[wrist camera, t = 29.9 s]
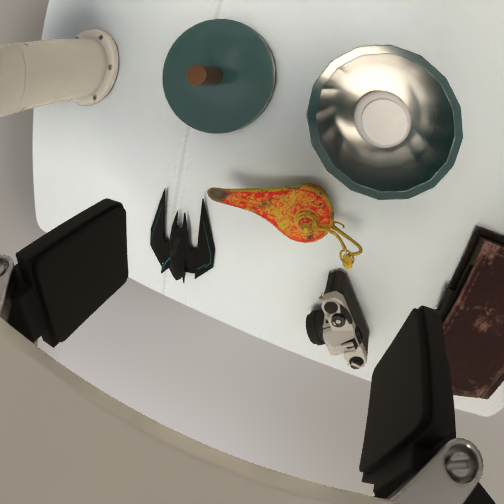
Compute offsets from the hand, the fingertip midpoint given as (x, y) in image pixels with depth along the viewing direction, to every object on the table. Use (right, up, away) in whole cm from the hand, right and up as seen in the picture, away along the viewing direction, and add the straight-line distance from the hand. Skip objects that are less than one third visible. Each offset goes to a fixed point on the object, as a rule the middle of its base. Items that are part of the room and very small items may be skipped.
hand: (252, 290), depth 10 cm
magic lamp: (+6, +8, +31) cm, 32 cm away
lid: (-4, +22, +25) cm, 34 cm away
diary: (+34, -8, +28) cm, 45 cm away
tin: (+14, +16, +22) cm, 31 cm away
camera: (+12, -7, +36) cm, 39 cm away
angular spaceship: (-10, +4, +39) cm, 41 cm away
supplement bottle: (+14, +16, +22) cm, 31 cm away
